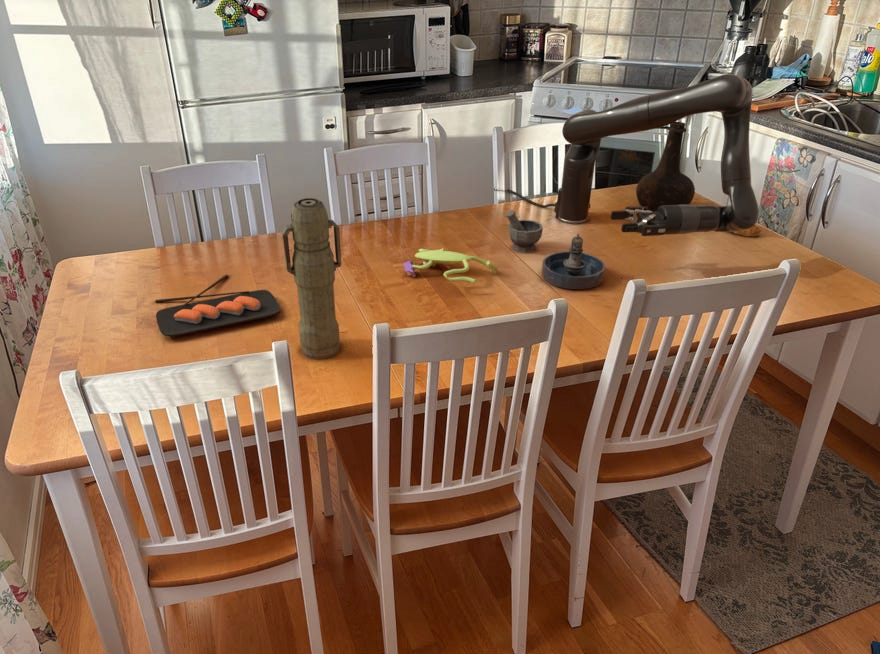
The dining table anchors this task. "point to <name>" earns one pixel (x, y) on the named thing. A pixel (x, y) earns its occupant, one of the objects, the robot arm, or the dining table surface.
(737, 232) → the pastry
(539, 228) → the mortar and pestle
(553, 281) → the bowl
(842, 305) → the dining table surface
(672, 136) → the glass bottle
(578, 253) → the salt shaker
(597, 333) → the dining table surface
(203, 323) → the sushi plate
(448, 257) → the figurine
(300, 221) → the thermos
